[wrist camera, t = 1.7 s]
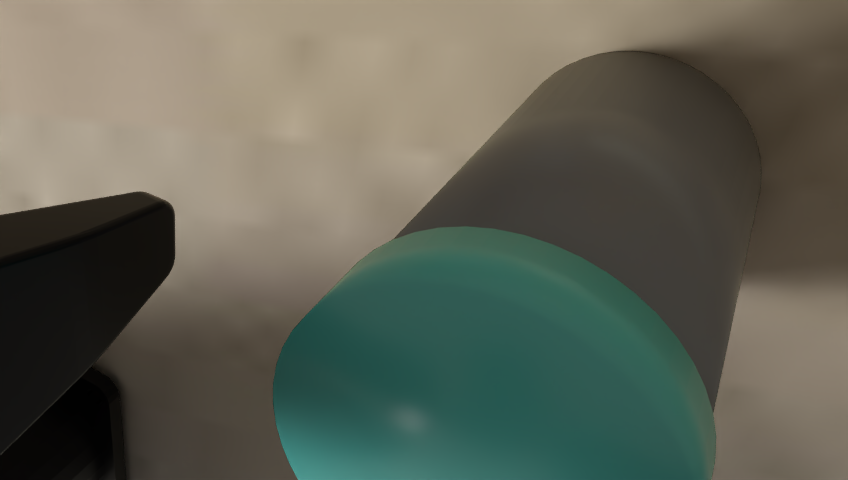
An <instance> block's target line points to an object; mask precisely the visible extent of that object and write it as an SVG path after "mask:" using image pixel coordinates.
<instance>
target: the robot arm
mask: <svg viewBox="0 0 848 480" xmlns="http://www.w3.org/2000/svg"><path fill="white" fill-rule="evenodd" d="M174 260H175V213H174V209H173V207H172V205H171V204H170V203H169V202H167V201H165V200H163V199H161V198H158V197H156V196H154V195H151V194H149V193H146V192H133V193H127V194H121V195H115V196H109V197H103V198H97V199H92V200H86V201H80V202H74V203H68V204H62V205H56V206H51V207H45V208H39V209H33V210H27V211H21V212H15V213H9V214H4V215H0V480H126V474H125V460H124V447H123V433H122V420H121V406H120V395H119V391H118V389H117V387H116V385H115V384H114V383H113V382H112V381H111V380H110V379H109V378H108V377H107V376H105V375H103V374H101V373H100V372H98V371H96V370H94V369H92V368H90V367H91V366H92V365H93V364H94V363H95V362H96V361H97V359H98V358H99V357H100V356H101V355H102V354H103V353H104V352H105V351H106V349H107V348H108V347H109V346H110V345H111V343H112V342H113V341H114V340H115V339H116V337H117V336H118V335H119V334H120V333H121V331H122V330H123V329H124V328H125V327H126V325H127V324H128V323H129V322H130V321H131V319H132V318H133V317H134V316H135V315H136V313H137V312H138V311H139V310H140V309H141V307H142V306H143V305H144V304H145V303H146V301H147V300H148V299H149V298H150V297H151V295H152V294H153V293H154V292H155V291H156V289H157V288H158V287H159V286H160V285H161V284H162V282H163V281H164V280H165V279H166V277H167V276H168V275H169V273H170V271H171V270H172V267H173V265H174Z"/></svg>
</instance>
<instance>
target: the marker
mask: <svg viewBox="0 0 848 480" xmlns="http://www.w3.org/2000/svg"><path fill="white" fill-rule="evenodd" d="M760 188H761V162H760V154H759V150H758V146H757V142H756V139H755V136H754V134H753V132H752V129H751V127H750V124H749V123H748V121H747V119H746V118H745V116H744V114H743V112H742V111H741V109H740V108H739V107H738V105H737V104H736V103H735V102H734V100H733V99H732V98H731V97H730V95H728V94H727V93H726V92H725V91H724V90H723V89H722V88H721V87H720V86H719V85H718V84H717V83H716V82H714V81H713V80H711V79H710V78H709V77H707V76H706V75H704V74H703V73H702V72H700V71H698V70H696V69H694V68H692V67H690V66H689V65H687V64H684V63H682V62H679V61H677V60H674V59H671V58H669V57H665V56H661V55H656V54H652V53H645V52H636V51H618V52H609V53H602V54H597V55H594V56H590V57H587V58H583V59H581V60H578V61H576V62H574V63H571V64H569V65H567V66H565V67H564V68H562V69H560V70H559V71H557V72H556V73H554V74H553V75H551V76H550V77H549V78H548V79H547V80H545V81H544V82H543V83H542V84H541V85H540V86H539V87H538V88H537V89H536V90H535V91H534V92H533V93H532V94H531V95H530V96H529V97H528V98H527V100H526V101H525V102H524V103H523V104H522V105H521V106H520V107H519V108H518V109H517V110H516V111H515V112H514V113H513V114H512V115H511V116H510V117H509V118H508V119H507V121H506V122H505V123H504V124H503V125H502V126H501V127H500V128H499V129H498V130H497V131H496V132H495V133H494V134H493V135H492V136H491V137H490V138H489V139H488V140H487V142H486V143H485V144H484V145H483V146H482V147H481V148H480V149H479V150H478V151H477V152H476V153H475V154H474V155H473V156H472V157H471V158H470V159H469V160H468V161H467V163H466V164H465V165H464V166H463V167H462V168H461V169H460V170H459V171H458V172H457V173H456V174H455V175H454V176H453V177H452V178H451V179H450V180H449V181H448V182H447V184H446V185H445V186H444V187H443V188H442V189H441V190H440V191H439V192H438V193H437V194H436V195H435V196H434V197H433V198H432V199H431V200H430V201H429V202H428V203H427V205H426V206H425V207H424V208H423V209H422V210H421V211H420V212H419V213H418V214H417V215H416V216H415V217H414V218H413V219H412V220H411V221H410V222H409V223H408V224H407V226H406V227H405V228H404V229H403V230H402V231H401V232H400V233H399V234H398V235H397V236H396V237H395V238H394V239H393V240H391V241H389V242H388V243H386V244H384V245H382V246H380V247H378V248H376V249H374V250H373V251H372V252H370V253H369V254H368V255H367V256H365V257H364V258H363V259H361V260H360V261H359V262H358V263H357V264H356V265H355V266H354V267H353V268H352V269H351V270H350V271H349V272H348V273H347V274H346V275H345V276H344V277H343V278H342V279H341V280H340V281H339V282H338V283H337V284H336V285H335V286H334V287H333V288H332V289H331V290H330V291H329V292H328V293H327V294H326V295H325V296H324V297H323V298H322V299H321V300H320V301H319V302H318V304H317V305H316V306H315V307H314V308H313V309H312V310H311V311H310V312H309V313H308V314H307V315H306V316H305V317H304V318H303V319H302V320H301V321H300V323H299V324H298V325H297V326H296V327H295V328H294V329H293V330H292V332H291V334H290V335H289V337H288V339H287V340H286V342H285V344H284V346H283V347H282V350H281V353H280V356H279V359H278V361H277V364H276V370H275V376H274V382H273V407H274V414H275V420H276V426H277V429H278V433H279V436H280V440H281V444H282V446H283V449H284V451H285V454H286V456H287V459H288V461H289V463H290V466H291V467H292V469H293V471H294V473H295V475H296V477H297V479H298V480H711V479H712V474H713V469H714V464H715V456H716V431H715V423H714V416H713V412H714V407H715V402H716V397H717V393H718V388H719V383H720V378H721V374H722V369H723V364H724V359H725V355H726V350H727V345H728V340H729V336H730V331H731V326H732V321H733V316H734V312H735V307H736V302H737V297H738V293H739V288H740V283H741V278H742V274H743V269H744V264H745V259H746V255H747V250H748V245H749V240H750V236H751V231H752V226H753V221H754V217H755V212H756V207H757V202H758V198H759V193H760Z"/></svg>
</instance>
